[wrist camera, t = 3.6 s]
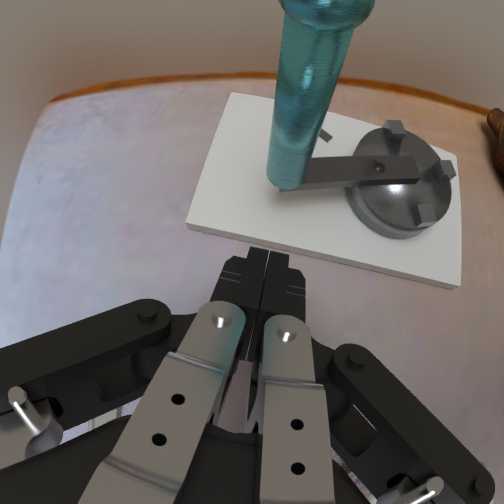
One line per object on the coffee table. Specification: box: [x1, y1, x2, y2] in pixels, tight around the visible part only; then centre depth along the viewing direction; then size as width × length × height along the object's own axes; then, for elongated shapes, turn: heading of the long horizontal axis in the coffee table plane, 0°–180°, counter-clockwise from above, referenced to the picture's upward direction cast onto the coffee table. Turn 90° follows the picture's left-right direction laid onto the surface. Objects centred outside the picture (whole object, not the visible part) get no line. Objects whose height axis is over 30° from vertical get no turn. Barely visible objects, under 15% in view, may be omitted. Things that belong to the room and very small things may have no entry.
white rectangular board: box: [186, 92, 462, 289], centre depth 26 cm, size 24×14×2 cm, turn 77°
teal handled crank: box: [266, 0, 456, 239], centre depth 15 cm, size 16×9×19 cm, turn 97°
